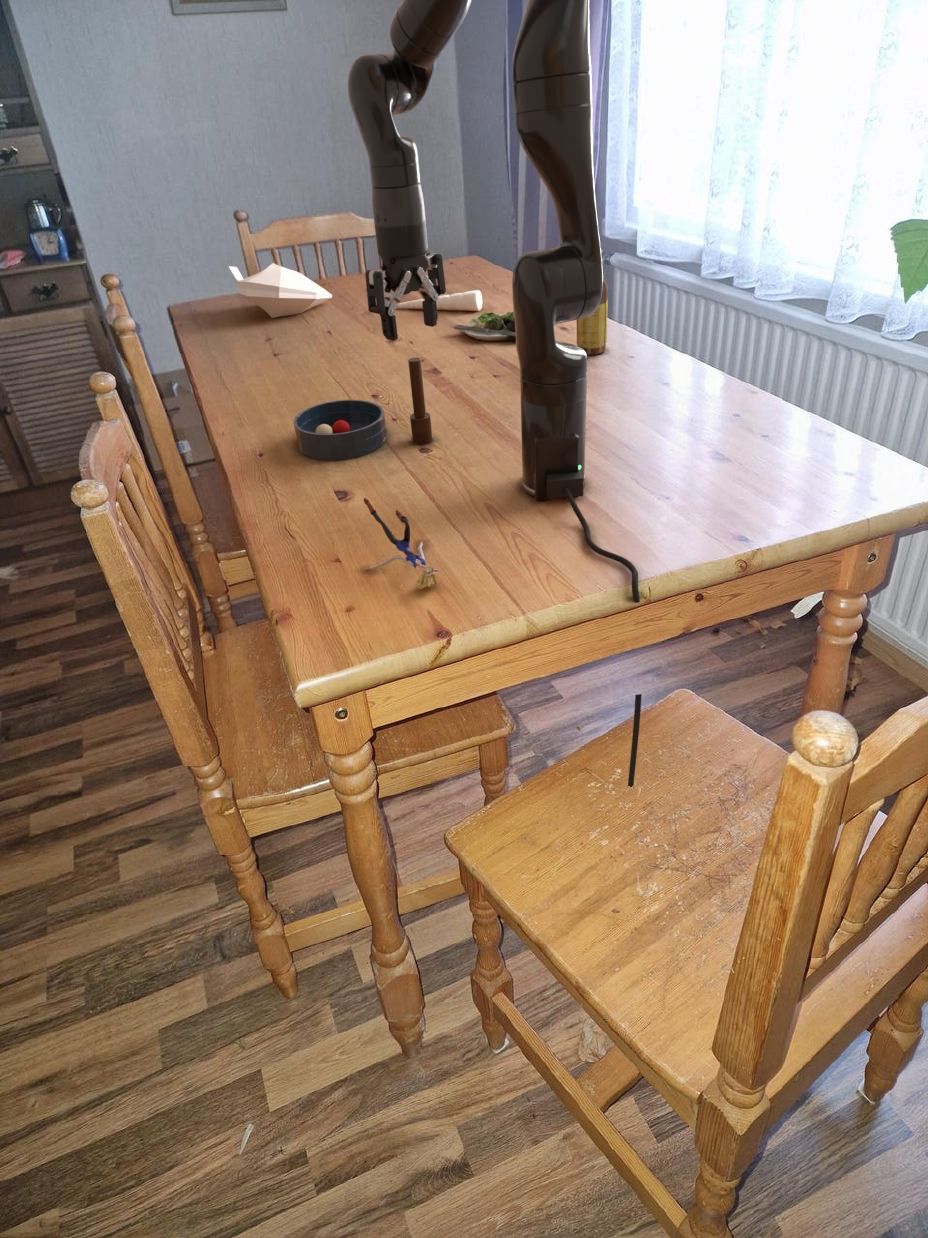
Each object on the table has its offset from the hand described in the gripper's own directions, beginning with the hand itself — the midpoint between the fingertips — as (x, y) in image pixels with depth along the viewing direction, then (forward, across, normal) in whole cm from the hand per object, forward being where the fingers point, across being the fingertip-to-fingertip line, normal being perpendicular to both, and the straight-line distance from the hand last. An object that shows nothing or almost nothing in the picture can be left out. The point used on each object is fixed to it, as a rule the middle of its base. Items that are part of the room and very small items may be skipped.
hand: (411, 332), depth 127 cm
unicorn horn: (+18, +59, +54) cm, 82 cm away
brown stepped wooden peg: (+18, 0, 0) cm, 18 cm away
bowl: (+18, -8, +12) cm, 23 cm away
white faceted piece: (+18, +37, +90) cm, 99 cm away
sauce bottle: (+18, +53, +4) cm, 56 cm away
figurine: (+19, -30, -27) cm, 45 cm away
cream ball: (+16, -10, +13) cm, 23 cm away
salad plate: (+18, +54, +28) cm, 64 cm away
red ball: (+16, -8, +12) cm, 22 cm away
